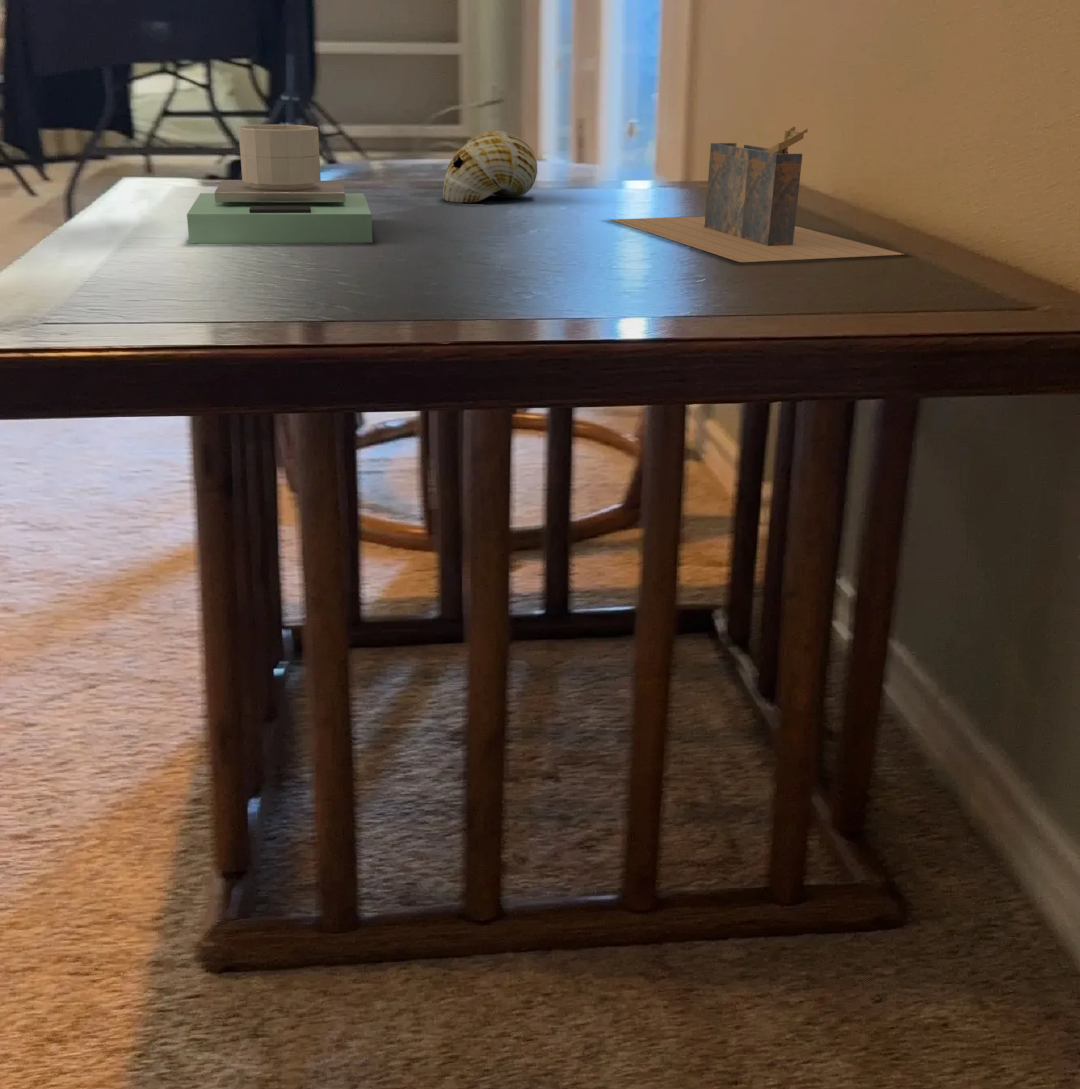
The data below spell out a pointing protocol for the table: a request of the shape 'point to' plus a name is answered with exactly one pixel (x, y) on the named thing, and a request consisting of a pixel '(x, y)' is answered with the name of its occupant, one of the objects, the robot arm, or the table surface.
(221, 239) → the scale
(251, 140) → the bowl
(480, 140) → the seashell
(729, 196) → the ruin model on sheet
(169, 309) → the table surface
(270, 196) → the pan
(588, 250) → the table surface
